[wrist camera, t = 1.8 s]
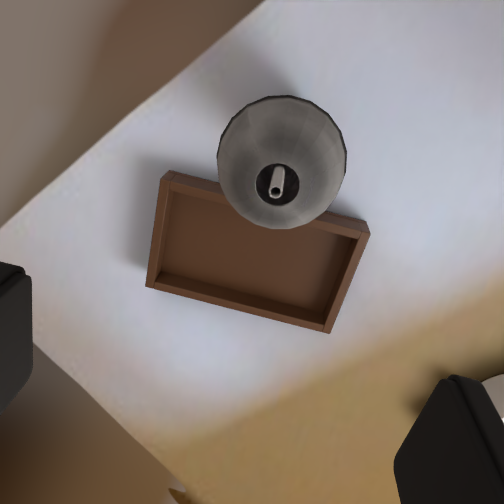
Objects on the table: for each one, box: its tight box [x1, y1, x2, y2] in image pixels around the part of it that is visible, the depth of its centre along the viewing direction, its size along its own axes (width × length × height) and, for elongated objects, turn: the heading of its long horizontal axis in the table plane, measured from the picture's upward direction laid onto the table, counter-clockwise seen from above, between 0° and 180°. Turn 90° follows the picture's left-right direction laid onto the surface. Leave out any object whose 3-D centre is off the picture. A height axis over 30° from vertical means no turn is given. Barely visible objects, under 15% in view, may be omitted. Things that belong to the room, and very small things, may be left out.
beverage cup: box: [217, 95, 347, 229], centre depth 25 cm, size 7×7×20 cm
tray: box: [145, 170, 370, 334], centre depth 38 cm, size 18×11×3 cm, turn 76°
